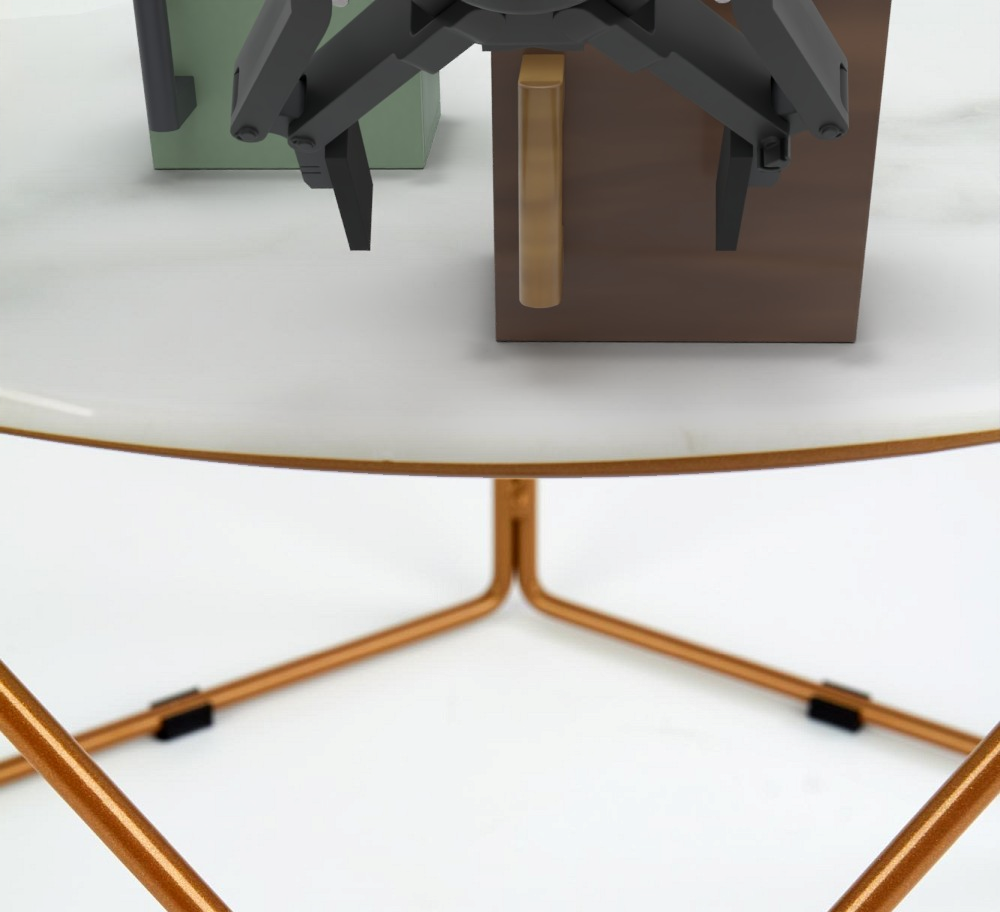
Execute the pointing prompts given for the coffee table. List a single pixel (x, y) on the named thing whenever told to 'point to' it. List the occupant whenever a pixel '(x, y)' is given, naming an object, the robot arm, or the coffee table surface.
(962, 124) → the coffee table surface
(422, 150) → the far door
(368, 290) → the coffee table surface
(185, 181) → the coffee table surface
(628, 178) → the near door
